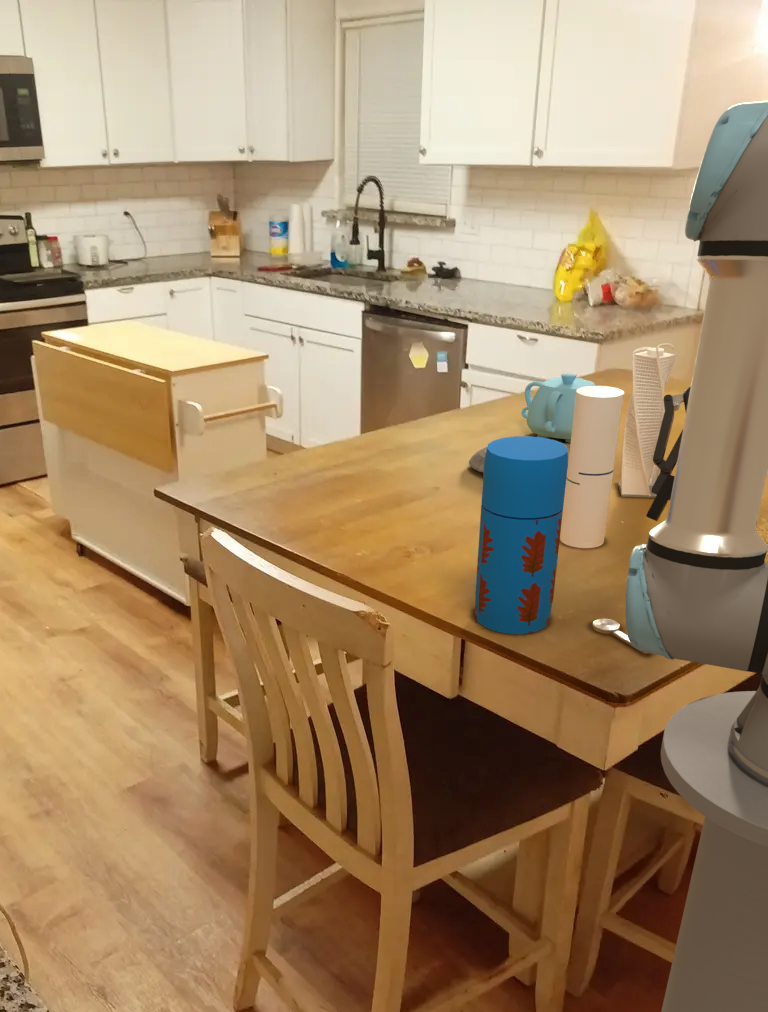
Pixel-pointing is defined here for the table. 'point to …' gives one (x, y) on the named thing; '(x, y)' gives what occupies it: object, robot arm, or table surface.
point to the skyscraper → (644, 420)
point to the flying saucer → (478, 460)
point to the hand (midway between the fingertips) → (651, 518)
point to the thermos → (519, 532)
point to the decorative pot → (553, 406)
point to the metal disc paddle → (612, 630)
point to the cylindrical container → (591, 465)
